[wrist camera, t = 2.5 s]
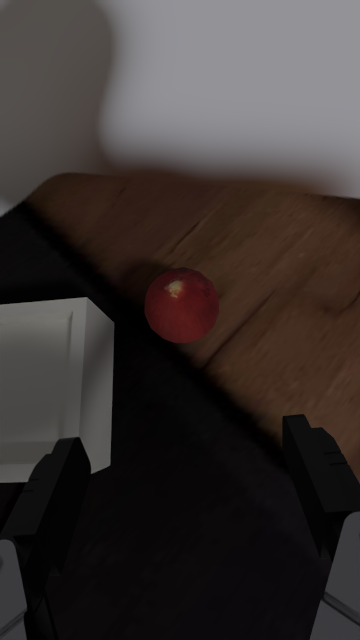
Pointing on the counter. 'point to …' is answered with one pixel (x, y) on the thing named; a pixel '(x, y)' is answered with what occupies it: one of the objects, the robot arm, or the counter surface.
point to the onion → (181, 305)
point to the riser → (54, 382)
